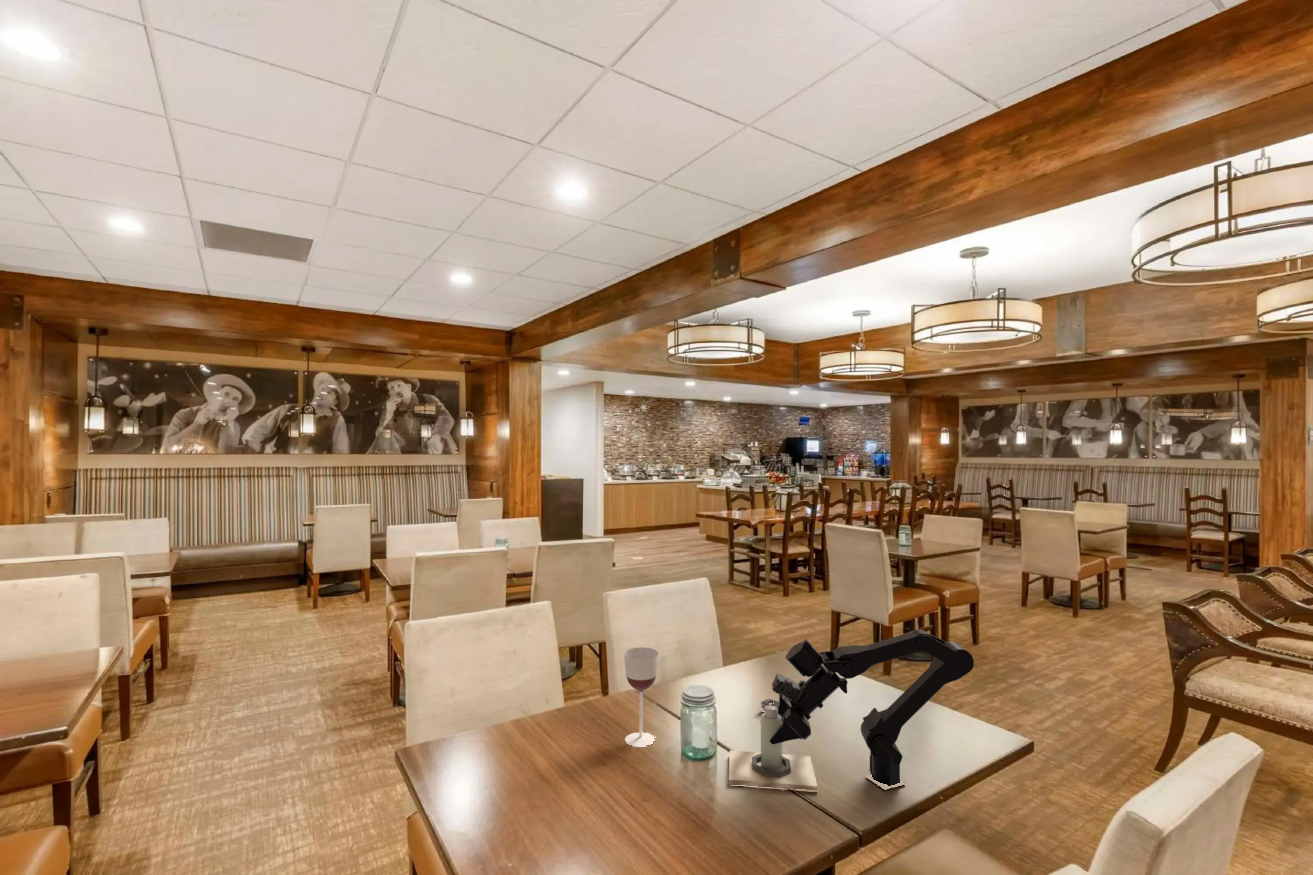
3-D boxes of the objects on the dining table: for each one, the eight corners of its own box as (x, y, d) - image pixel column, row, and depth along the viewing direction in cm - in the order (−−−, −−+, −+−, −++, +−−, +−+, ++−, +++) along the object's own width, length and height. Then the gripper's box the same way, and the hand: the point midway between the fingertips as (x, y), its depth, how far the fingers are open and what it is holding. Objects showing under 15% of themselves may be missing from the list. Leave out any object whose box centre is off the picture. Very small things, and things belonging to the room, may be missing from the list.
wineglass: (659, 731, 166) (659, 647, 167) (655, 749, 156) (656, 659, 157) (626, 730, 167) (627, 646, 168) (621, 747, 157) (621, 658, 158)
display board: (810, 762, 150) (810, 751, 150) (817, 792, 136) (817, 780, 136) (729, 756, 153) (729, 745, 153) (728, 785, 139) (728, 773, 139)
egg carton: (802, 716, 177) (802, 702, 177) (789, 724, 172) (789, 710, 172) (770, 705, 184) (771, 692, 185) (757, 713, 179) (757, 699, 179)
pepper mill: (786, 766, 145) (785, 707, 145) (775, 774, 141) (774, 714, 141) (768, 759, 148) (767, 702, 148) (757, 767, 144) (756, 708, 145)
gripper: (788, 652, 154) (745, 693, 155) (795, 678, 135) (746, 725, 136) (820, 684, 152) (776, 726, 154) (831, 716, 134) (781, 762, 135)
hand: (769, 733), depth 145 cm, fingers open, 9 cm apart
